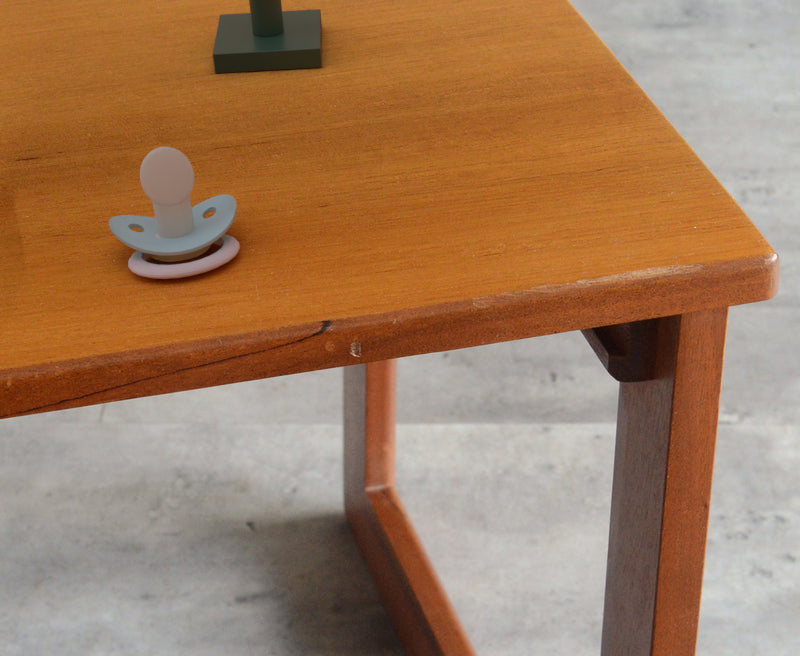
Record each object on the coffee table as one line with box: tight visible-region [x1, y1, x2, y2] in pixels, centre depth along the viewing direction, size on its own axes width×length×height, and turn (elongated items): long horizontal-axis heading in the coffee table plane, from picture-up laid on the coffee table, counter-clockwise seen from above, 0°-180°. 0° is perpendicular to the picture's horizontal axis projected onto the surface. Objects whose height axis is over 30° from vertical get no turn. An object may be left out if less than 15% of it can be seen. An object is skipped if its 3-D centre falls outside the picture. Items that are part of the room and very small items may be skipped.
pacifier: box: [108, 146, 241, 280], centre depth 67 cm, size 7×6×6 cm
